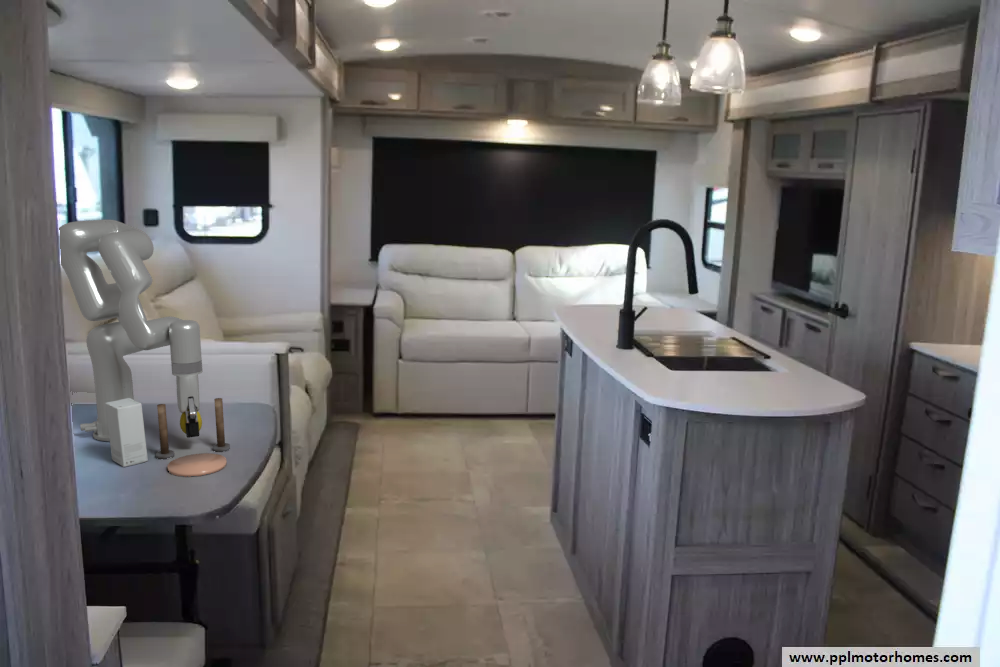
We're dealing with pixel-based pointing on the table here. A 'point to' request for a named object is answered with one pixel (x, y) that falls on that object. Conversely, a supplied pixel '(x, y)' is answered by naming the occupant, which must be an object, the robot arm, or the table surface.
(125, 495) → the table surface
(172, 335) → the robot arm
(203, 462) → the plate
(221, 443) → the right dowel
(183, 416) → the lemon
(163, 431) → the left dowel
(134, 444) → the skincare box
